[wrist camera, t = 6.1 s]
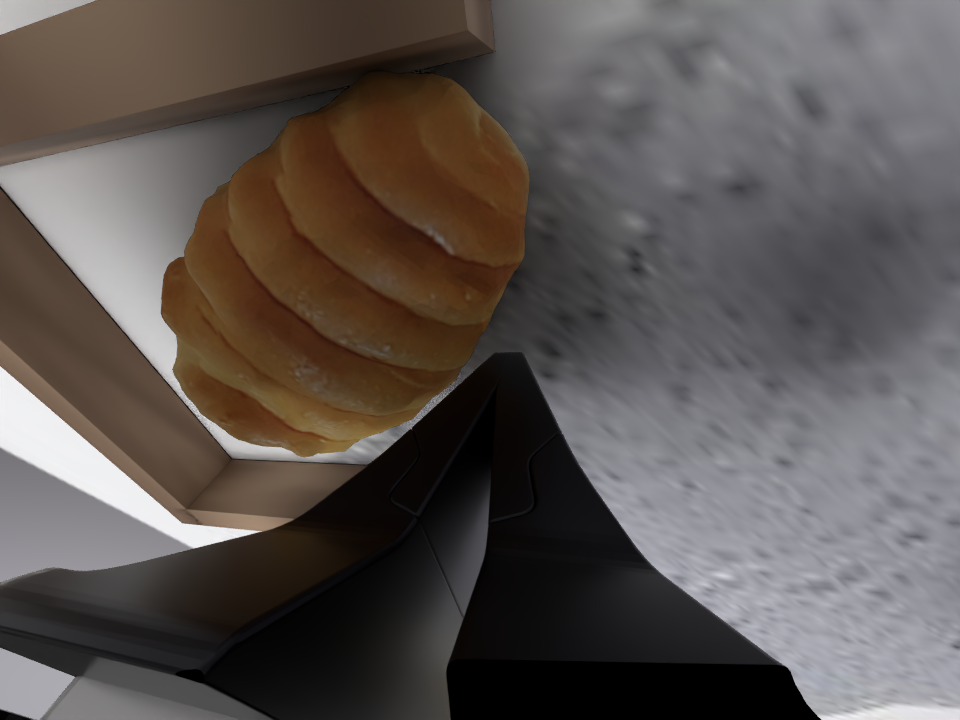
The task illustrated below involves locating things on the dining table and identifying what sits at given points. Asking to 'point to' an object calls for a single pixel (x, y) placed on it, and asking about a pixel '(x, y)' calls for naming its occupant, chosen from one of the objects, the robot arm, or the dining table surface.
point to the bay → (153, 106)
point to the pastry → (349, 265)
